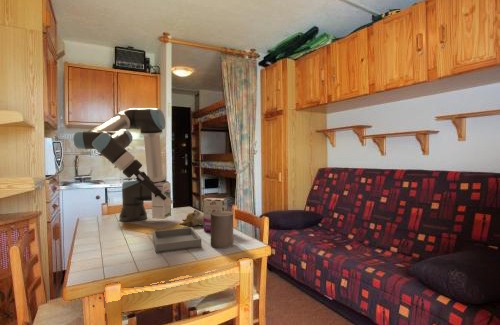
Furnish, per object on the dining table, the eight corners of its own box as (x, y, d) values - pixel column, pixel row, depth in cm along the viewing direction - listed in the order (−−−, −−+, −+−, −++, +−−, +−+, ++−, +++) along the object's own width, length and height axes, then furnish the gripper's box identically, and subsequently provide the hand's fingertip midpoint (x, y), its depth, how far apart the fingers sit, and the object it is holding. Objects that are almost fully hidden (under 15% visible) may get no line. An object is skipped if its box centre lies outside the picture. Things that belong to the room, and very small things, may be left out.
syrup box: (164, 219, 115) (164, 184, 114) (151, 218, 116) (151, 183, 116) (171, 216, 121) (171, 182, 120) (158, 215, 122) (158, 182, 121)
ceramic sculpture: (207, 211, 146) (178, 213, 145) (208, 227, 147) (179, 229, 146) (208, 207, 157) (181, 209, 156) (209, 222, 157) (182, 224, 156)
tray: (152, 238, 128) (152, 231, 128) (192, 234, 135) (192, 227, 135) (156, 253, 110) (155, 244, 109) (201, 247, 117) (201, 239, 116)
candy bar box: (227, 230, 141) (227, 198, 140) (223, 233, 136) (223, 200, 136) (207, 228, 145) (207, 197, 144) (203, 231, 140) (203, 198, 139)
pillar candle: (206, 244, 121) (206, 209, 120) (225, 239, 127) (224, 206, 126) (219, 250, 113) (218, 213, 113) (238, 245, 119) (238, 210, 119)
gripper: (122, 170, 122) (161, 204, 128) (119, 173, 103) (165, 214, 109) (136, 157, 123) (173, 192, 130) (135, 159, 104) (179, 199, 111)
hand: (170, 202), depth 120 cm, fingers closed on syrup box, 7 cm apart
